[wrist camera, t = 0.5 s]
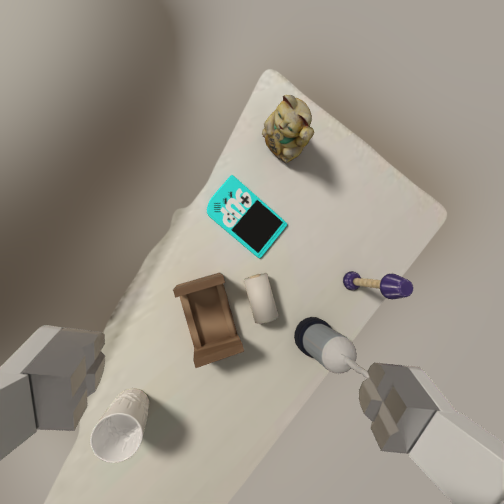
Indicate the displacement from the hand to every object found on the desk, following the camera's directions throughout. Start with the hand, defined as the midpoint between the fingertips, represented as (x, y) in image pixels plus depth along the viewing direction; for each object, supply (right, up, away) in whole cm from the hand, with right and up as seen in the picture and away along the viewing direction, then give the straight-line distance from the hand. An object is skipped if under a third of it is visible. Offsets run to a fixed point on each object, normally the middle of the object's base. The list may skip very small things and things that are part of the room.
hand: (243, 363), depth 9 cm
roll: (+2, -6, +51) cm, 52 cm away
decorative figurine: (+7, +28, +53) cm, 60 cm away
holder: (-9, -9, +49) cm, 51 cm away
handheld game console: (-1, +11, +51) cm, 53 cm away
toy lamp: (+23, -3, +55) cm, 60 cm away
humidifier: (+13, -15, +53) cm, 57 cm away
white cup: (-23, -27, +46) cm, 58 cm away
